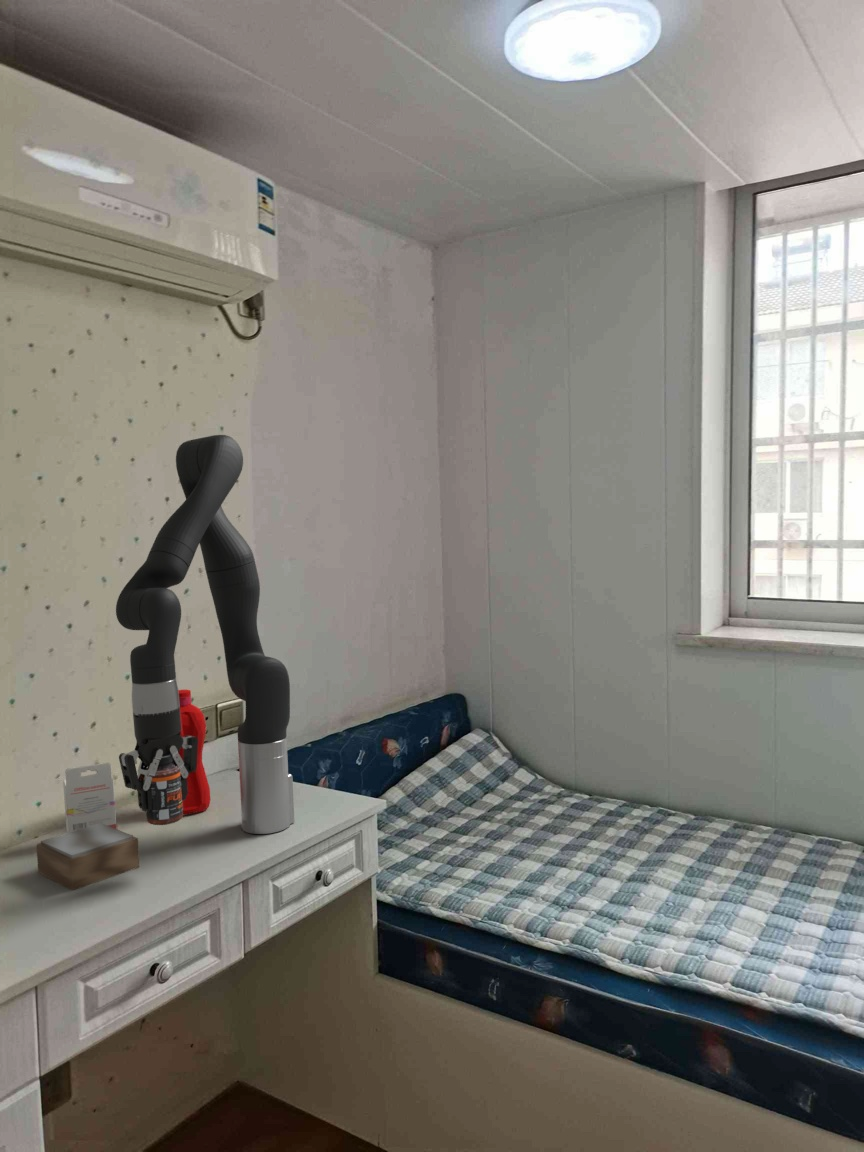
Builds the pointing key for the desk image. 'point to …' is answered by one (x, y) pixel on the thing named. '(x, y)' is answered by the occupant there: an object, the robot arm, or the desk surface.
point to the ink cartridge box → (89, 797)
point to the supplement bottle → (166, 793)
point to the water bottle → (197, 780)
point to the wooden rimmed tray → (87, 855)
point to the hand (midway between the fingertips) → (164, 804)
